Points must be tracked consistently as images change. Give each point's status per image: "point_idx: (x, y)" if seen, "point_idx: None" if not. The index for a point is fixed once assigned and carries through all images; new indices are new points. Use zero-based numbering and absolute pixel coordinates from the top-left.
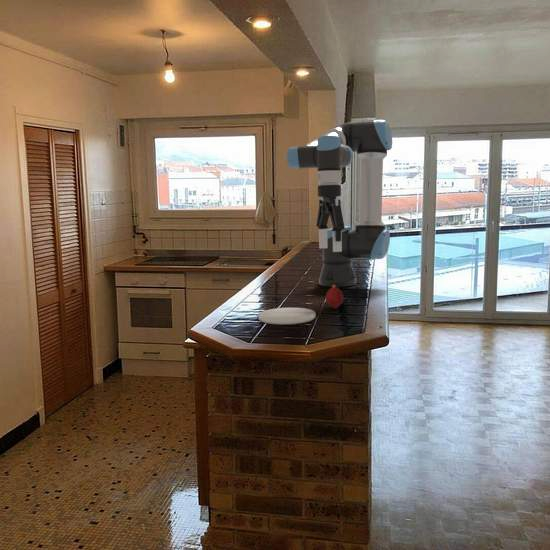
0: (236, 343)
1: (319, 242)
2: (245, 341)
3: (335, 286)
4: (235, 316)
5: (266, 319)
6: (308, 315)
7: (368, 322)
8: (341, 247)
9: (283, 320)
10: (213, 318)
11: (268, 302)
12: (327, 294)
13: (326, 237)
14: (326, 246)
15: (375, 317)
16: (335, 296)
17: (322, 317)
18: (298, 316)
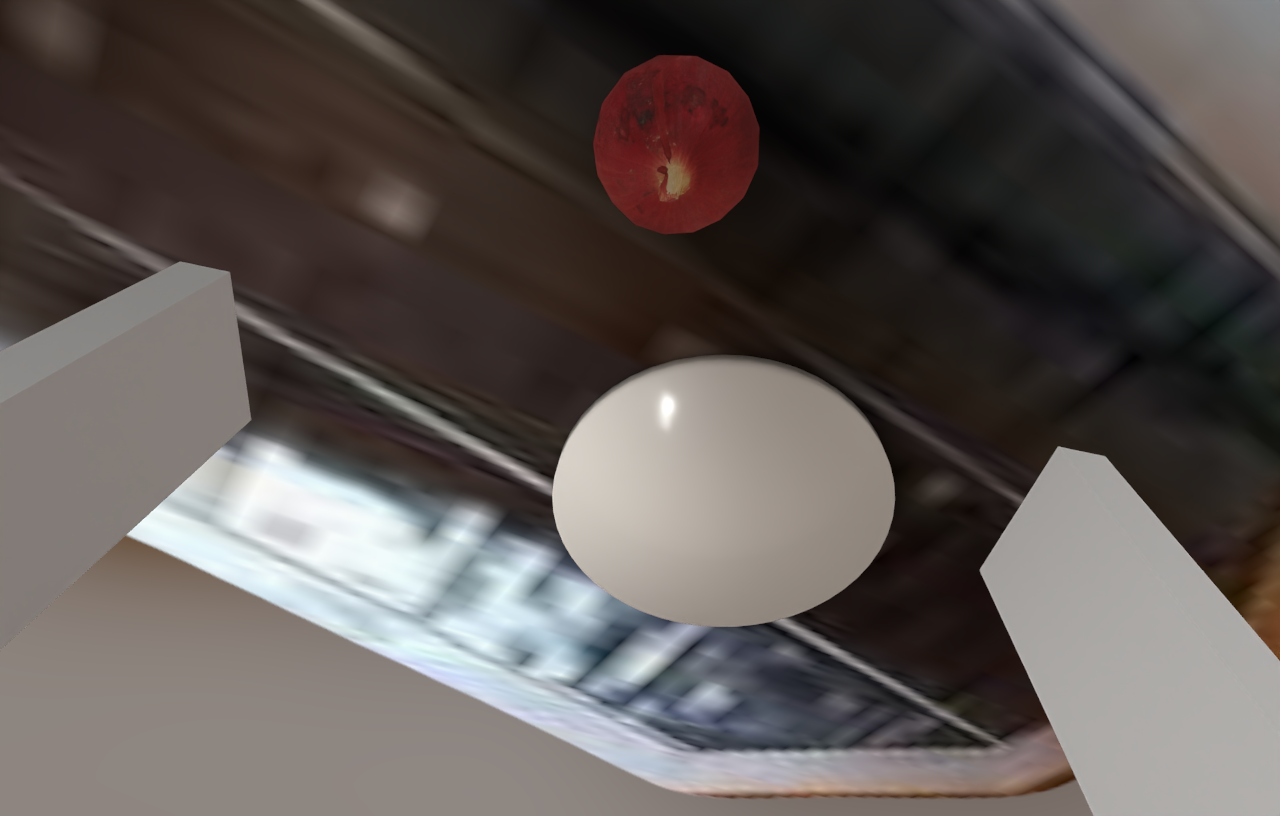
0: (963, 770)
1: (146, 489)
2: (966, 748)
3: (689, 168)
4: (541, 644)
5: (762, 622)
6: (847, 450)
7: (1247, 176)
8: (1148, 515)
9: (847, 585)
10: (529, 706)
11: (259, 410)
12: (672, 233)
13: (30, 419)
14: (210, 309)
15: (1198, 19)
16: (747, 187)
17: (863, 351)
18: (826, 499)
